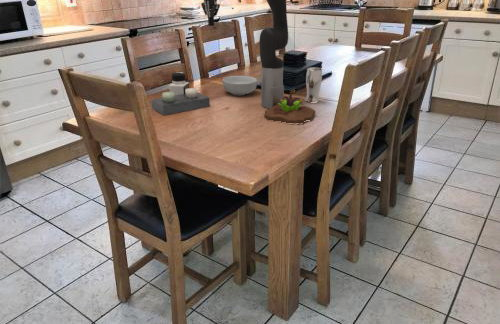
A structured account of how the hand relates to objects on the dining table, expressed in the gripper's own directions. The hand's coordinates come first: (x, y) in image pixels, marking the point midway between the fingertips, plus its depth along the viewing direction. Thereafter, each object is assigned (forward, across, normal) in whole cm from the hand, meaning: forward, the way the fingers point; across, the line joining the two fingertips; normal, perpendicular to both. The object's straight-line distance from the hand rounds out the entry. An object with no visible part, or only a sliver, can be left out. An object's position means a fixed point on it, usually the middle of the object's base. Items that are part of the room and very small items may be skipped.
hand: (211, 25), depth 183 cm
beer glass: (+32, -36, -31) cm, 57 cm away
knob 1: (+32, -9, +27) cm, 43 cm away
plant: (+33, -46, -10) cm, 57 cm away
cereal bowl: (+32, -5, -12) cm, 35 cm away
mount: (+32, -9, +22) cm, 40 cm away
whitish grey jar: (+32, -9, +16) cm, 37 cm away
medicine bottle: (+32, +4, +16) cm, 36 cm away
